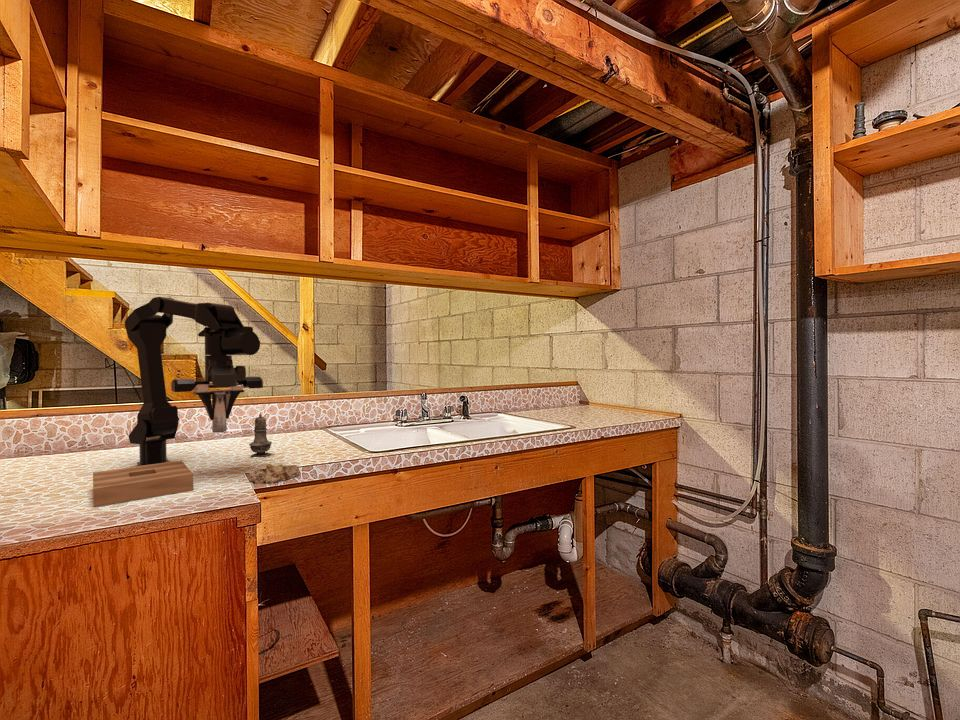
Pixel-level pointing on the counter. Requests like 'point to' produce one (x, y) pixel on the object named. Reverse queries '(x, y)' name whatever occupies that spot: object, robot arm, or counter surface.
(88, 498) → the counter surface
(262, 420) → the salt shaker
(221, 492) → the counter surface
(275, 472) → the mineral rock
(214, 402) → the pin
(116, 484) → the socket block
